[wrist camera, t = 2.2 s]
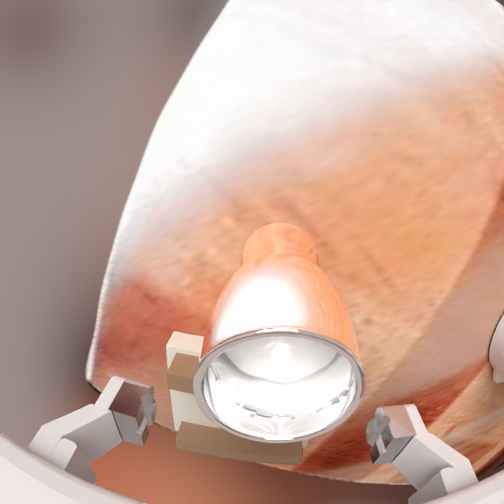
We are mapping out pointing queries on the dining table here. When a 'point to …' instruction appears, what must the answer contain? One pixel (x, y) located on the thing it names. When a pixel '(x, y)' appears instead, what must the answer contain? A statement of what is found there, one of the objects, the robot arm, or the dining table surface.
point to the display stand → (200, 426)
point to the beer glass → (279, 345)
